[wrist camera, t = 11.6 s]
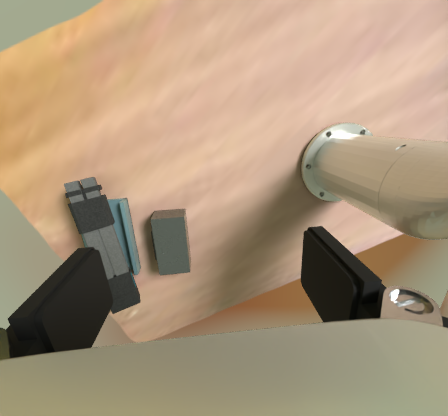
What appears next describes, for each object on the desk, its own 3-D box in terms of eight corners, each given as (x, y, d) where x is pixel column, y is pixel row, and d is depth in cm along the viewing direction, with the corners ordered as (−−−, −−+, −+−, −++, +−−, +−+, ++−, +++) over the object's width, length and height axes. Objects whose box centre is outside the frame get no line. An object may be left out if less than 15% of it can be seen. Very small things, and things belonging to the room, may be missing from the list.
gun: (116, 299, 41) (108, 323, 32) (78, 191, 40) (59, 183, 31) (142, 289, 43) (141, 309, 33) (106, 184, 41) (96, 174, 32)
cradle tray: (127, 198, 37) (123, 202, 35) (140, 267, 42) (138, 274, 40) (79, 201, 36) (73, 205, 35) (98, 271, 41) (93, 278, 39)
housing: (185, 208, 39) (184, 216, 35) (190, 260, 42) (190, 272, 39) (152, 211, 38) (147, 219, 35) (160, 263, 42) (157, 275, 38)
